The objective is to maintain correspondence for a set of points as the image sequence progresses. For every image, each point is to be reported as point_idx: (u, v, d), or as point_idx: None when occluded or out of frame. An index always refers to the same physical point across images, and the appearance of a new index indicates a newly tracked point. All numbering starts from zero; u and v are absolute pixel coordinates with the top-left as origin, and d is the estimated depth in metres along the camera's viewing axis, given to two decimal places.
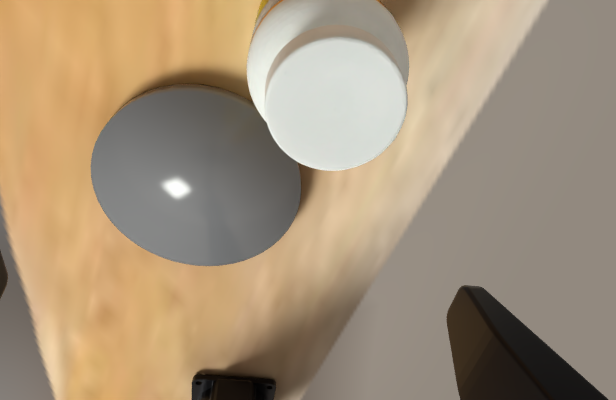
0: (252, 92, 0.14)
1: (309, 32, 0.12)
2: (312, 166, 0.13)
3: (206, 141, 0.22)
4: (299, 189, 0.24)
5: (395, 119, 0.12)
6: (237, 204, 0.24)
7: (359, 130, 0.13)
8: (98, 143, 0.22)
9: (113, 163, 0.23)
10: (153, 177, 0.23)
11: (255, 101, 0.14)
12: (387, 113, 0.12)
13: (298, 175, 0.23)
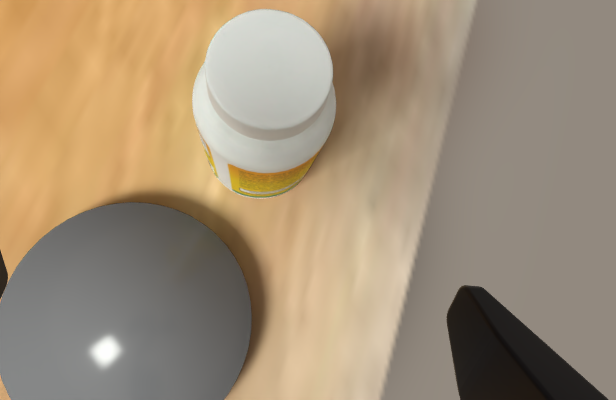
0: (196, 108, 0.16)
1: None
2: (251, 123, 0.13)
3: (146, 257, 0.20)
4: (249, 315, 0.21)
5: (324, 75, 0.14)
6: (174, 341, 0.20)
7: (293, 86, 0.14)
8: (21, 265, 0.20)
9: (31, 291, 0.19)
10: (75, 308, 0.20)
11: (198, 116, 0.15)
12: (316, 70, 0.14)
13: (248, 296, 0.21)
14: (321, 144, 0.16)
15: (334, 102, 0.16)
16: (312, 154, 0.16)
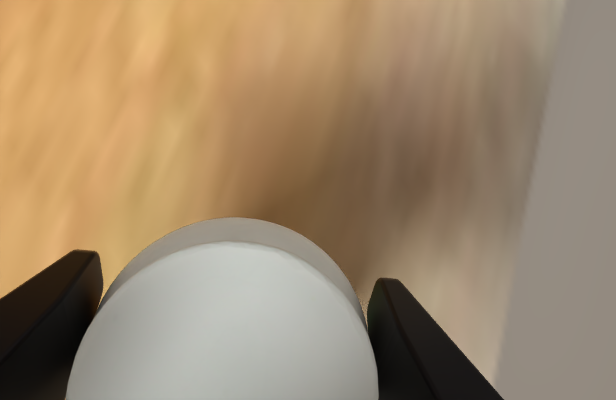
0: None
1: None
2: None
3: None
4: None
5: None
6: None
7: None
8: None
9: None
10: None
11: None
12: (341, 392, 0.06)
13: None
14: None
15: None
16: None
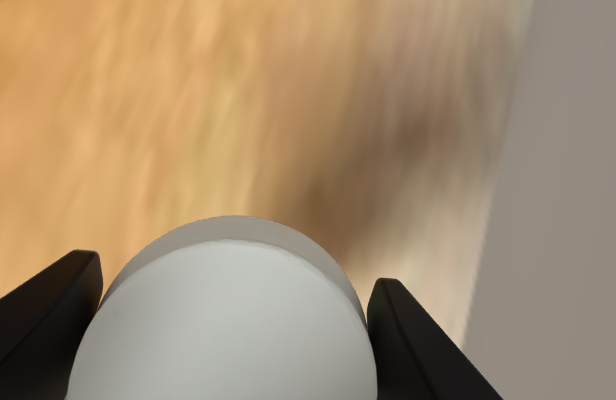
0: None
1: None
2: None
3: None
4: None
5: None
6: None
7: None
8: None
9: None
10: None
11: None
12: (340, 390, 0.06)
13: None
14: None
15: None
16: None
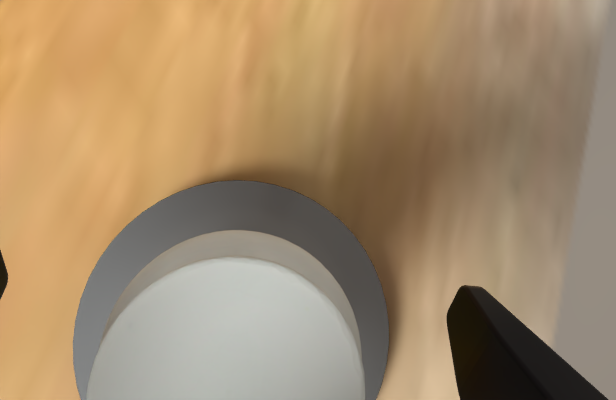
0: None
1: None
2: None
3: None
4: (386, 322, 0.16)
5: None
6: None
7: None
8: (103, 259, 0.15)
9: (117, 292, 0.15)
10: None
11: None
12: (331, 394, 0.06)
13: (382, 298, 0.16)
14: None
15: None
16: None
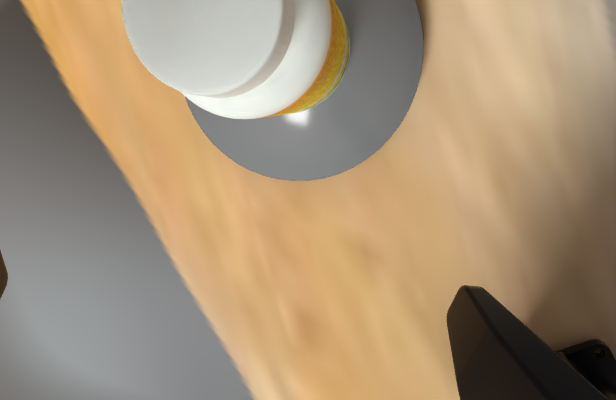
0: (182, 91, 0.13)
1: None
2: (226, 87, 0.10)
3: None
4: None
5: None
6: None
7: (238, 8, 0.10)
8: None
9: None
10: None
11: (190, 98, 0.13)
12: None
13: None
14: (327, 28, 0.12)
15: None
16: (325, 47, 0.12)
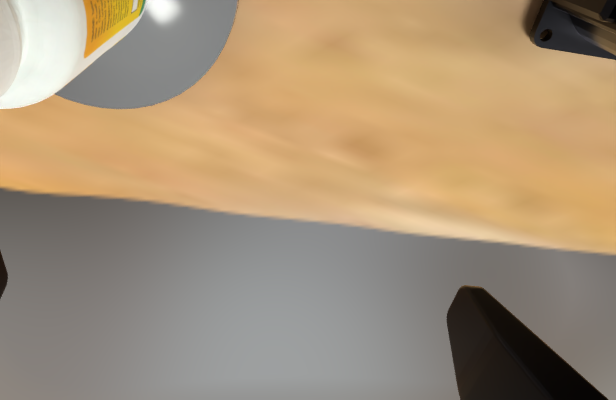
0: (12, 107, 0.12)
1: None
2: None
3: None
4: None
5: None
6: None
7: None
8: None
9: None
10: None
11: (22, 104, 0.12)
12: None
13: None
14: None
15: None
16: None
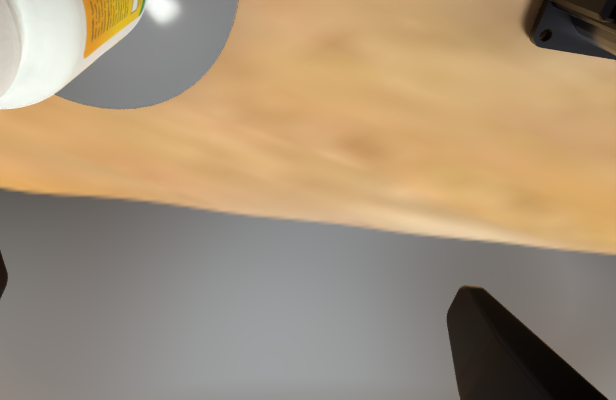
0: (12, 107, 0.12)
1: None
2: None
3: None
4: None
5: None
6: None
7: None
8: None
9: None
10: None
11: (22, 104, 0.12)
12: None
13: None
14: None
15: None
16: None
